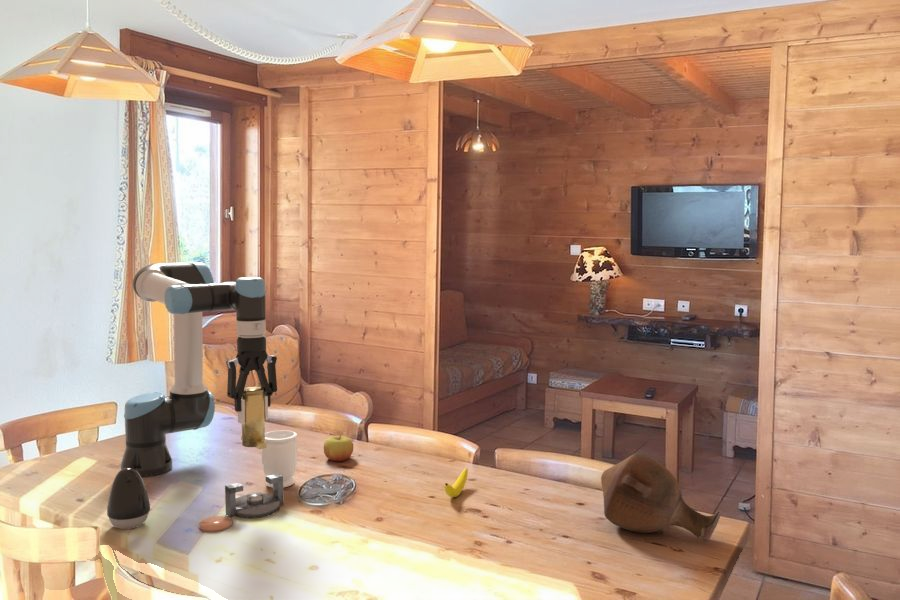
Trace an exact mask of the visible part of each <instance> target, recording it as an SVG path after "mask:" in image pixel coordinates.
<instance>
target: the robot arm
mask: <svg viewBox="0 0 900 600" xmlns="http://www.w3.org/2000/svg"><path fill="white" fill-rule="evenodd" d="M214 282H215V281H214V277H213V273H212V272H211V269H210V268H209V266H208V265H207V264H206V263H204V262H200V261H199V262H198V261H180V262H179V261H177V262H156V263H151V264H148V265H146V266H144V267H142V268H140V269H139V270H138V271H137V272H136V273H135V274H134V277H133V279H132V289H133V292H134V294H135V295H137V297H138V298H140V299H142V300H144V301H146V302H150V303H151V302H152V303H154V302H158V303H161V304H163V305H165V308H166V309H167V312H168V313H169V314H173V348H174V349H173V350H174V352H173V355H174V357H173V358H174V363H173V364H174V384H173V385H172V386H171V387H170V388H169V396H165V395H164V394H165V393H163V392H157V391H156V392H148V393H142V394H138V395H136V396H133V397H131V398H130V399H128V400H127V401H126V402H125V404H124V415H123V418H124V433H125V449H124V452H123V455H122V459H121V462H120V470H122V469H124V468H133V469H135V470H136V471H137V472H138V473H139V474H140V476H141V477H142V478H143V477H153V476H156V475H157V476H158V475H162V474H164V473H167V472H169V471H170V470H172V468H173V458H172V455H171V453H170V450H169V448H168V446H167V441H166V435H167V434H168V435H169V434H173V433H180V432H185V431H186V432H187V431H196V430H199V429H204V428H206V427H208V426H209V425H210V424H211V423H212V421H213V420H214V417H215V411H216V410H215V408H216V406H215V405H216V402H215V398H214V394H213V392H211V391H210V390H209V389H208V386H207V385H206V384H205V383H204V370H203V367H204V366H203V365H204V363H203V362H204V361H203V360H204V359H203V357H204V356H203V354H204V353H203V352H204V351H203V345H204V344H203V342H204V341H203V313H207V312H208V313H210V312H225V311H235V312H236V315H235V316H236V319H235V320H236V335H237V337H236V350H237V354H236V357H235V358H234V359H231V360H229V359H228V360H226V362H225V363H226V367H227V391H226V394H227V395H226V396H227V397H228V398H230V399H233V401H234V411H235V412H237V423H239V424H241V425H242V424H245V400H244V399H242V395H243V392H244V388H246V384H247V380H248V376H249V375H250V372H252V371H255V372H256V375H257V377H258V381H259V384H260V387H262V388H264V412H265V421H268V420H269V408H270V407H271V396H273V394H274V393H276V392H278V386H277V385H278V383H277V368H276V363H277V359H278V358H277V356H275V355H272V354H270V355H269V354H268V353H267V337H266V335H265V334H267V333H266V332H267V331H266V330H267V329H266V328H267V325H266V324H267V323H266V322H267V321H266V293H267V291H266V286H265V279H263V278H262V277H258V276H245V277H237V279H236V281H228V280H227V281H224V282H218V283H214ZM265 362H266V363H267V366H266V367H267V368H266V369H267V376H266V372H265V371H266V369H265V367H264V364H265ZM238 366H240V368H239V375H238V377H237V367H238ZM237 378H238V379H237Z"/></svg>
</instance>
